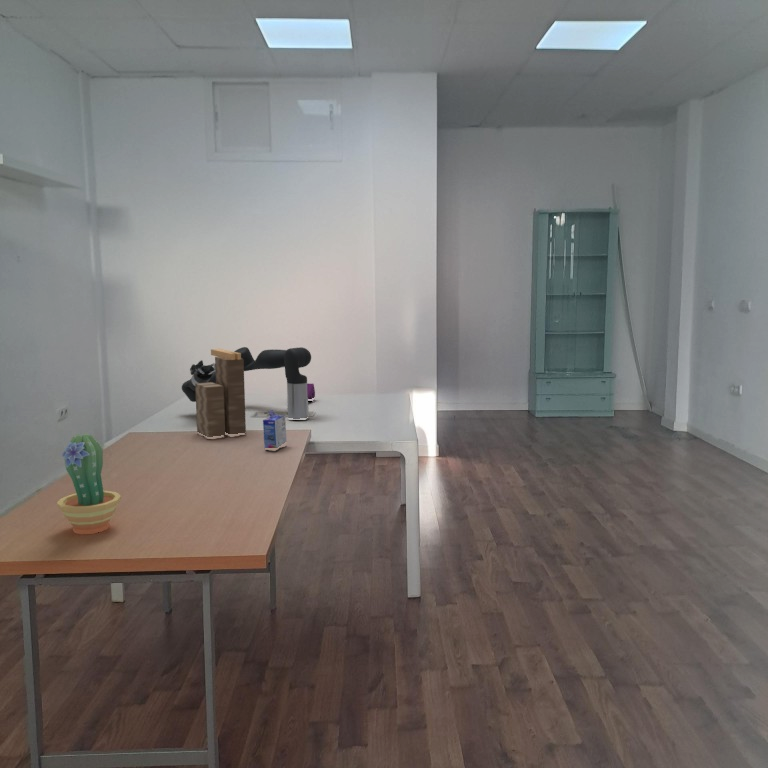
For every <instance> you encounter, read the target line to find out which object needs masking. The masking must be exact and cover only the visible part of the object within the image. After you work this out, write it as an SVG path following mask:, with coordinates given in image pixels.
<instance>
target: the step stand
mask: <svg viewBox="0 0 768 768" xmlns="http://www.w3.org/2000/svg"><path fill="white" fill-rule="evenodd" d="M214 363H215V370H216V383H212V382H207V383H195V391H196V402H195V409H196V411H195V412H196V413H195V414H196V415H195V416H196V433H197V432H199V433H201V434H203V435H205V436H207V437H213V436H221V435H225V432H226V433H228V434H238V433H245V432H246V433H247V428H246V427H247V426H246V425H247V423H246V396H245V395H246V392H245V390H246V389H245V371H244V359H240V360H237V359H235V360H229V359H225V358H221V357H217V356H214ZM225 436H226V435H225Z"/></svg>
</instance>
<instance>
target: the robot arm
mask: <svg viewBox="0 0 768 768" xmlns="http://www.w3.org/2000/svg"><path fill="white" fill-rule="evenodd" d="M233 352H237V353H241V359H244V372H247V371H255V370H274V369H280V368H284V372H285V373H284V374H285V378H286V392H287V393H286V394H287V399H286V400H287V419H288V418H293V419H300V418H307V417H308V415H309V402H308V398H307V384H308V377H307V375H304V374H302V373H300V368H304V367H305V368H306V367H307V366H309V364H310V363H311V361H312V355H311V352H310V350H309V349H307V348H305V347H293V348H292V347H291V348H287V349H264V350H262V351H261V352H260V353H259V354H258V355H257V356H256V358H255V359H254V357H253V355H252V352H251V350H250V349H249V347H245V346H243V347H240V348H237V349H236V350H234V351H233ZM189 373H190V375H191V378H190V379H189V380H186V381H184V382H183V383H182V384H181V390H182V392H183V393H184V395H185V396H186V397H187V399H189V401H190V402H192V403H193V402H194V403H196V391H195V383H207V382H212V383H216V370H215V362H212V363H211V364H208V365H205V364H204V361H203V360H201V359H200V360H199V361H198V363H196V364H191V366H190V368H189Z"/></svg>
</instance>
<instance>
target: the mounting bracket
mask: <svg viewBox="0 0 768 768" xmlns="http://www.w3.org/2000/svg"><path fill="white" fill-rule="evenodd" d="M314 397H315V398H316V390H315V384H314V383H307V398H308V399H312V398H314Z"/></svg>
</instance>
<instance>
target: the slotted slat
mask: <svg viewBox="0 0 768 768" xmlns="http://www.w3.org/2000/svg"><path fill="white" fill-rule="evenodd" d="M210 356H214V357H221V358H225V359H229V360H235V359H237V360H240V359H241V353H237V352H234V351H233V350H232V351H231V350H227V349H223V348H211V349H210Z"/></svg>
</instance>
